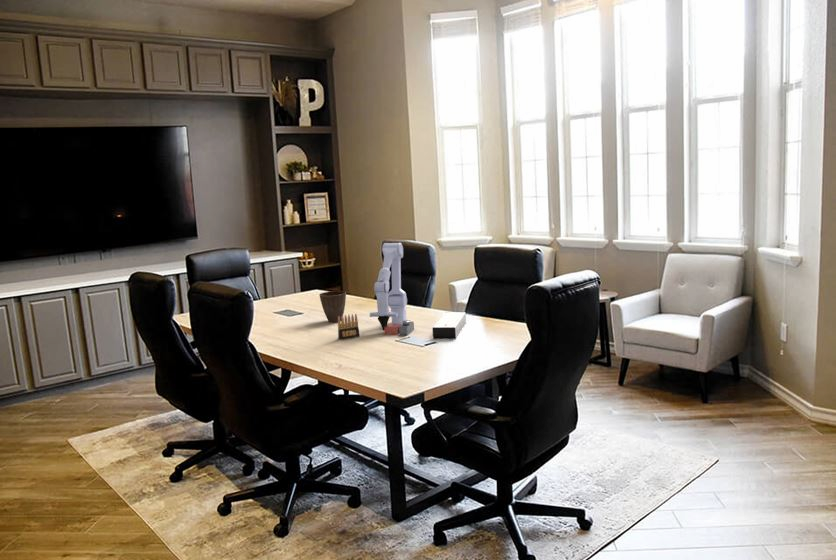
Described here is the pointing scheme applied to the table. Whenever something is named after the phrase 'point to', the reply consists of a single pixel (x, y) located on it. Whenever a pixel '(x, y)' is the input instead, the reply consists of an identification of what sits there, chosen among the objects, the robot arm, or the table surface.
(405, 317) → the robot arm
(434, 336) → the laminator
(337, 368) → the table surface
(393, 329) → the red block
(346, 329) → the ammunition clip
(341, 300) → the plant pot
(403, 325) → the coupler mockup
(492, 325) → the table surface
